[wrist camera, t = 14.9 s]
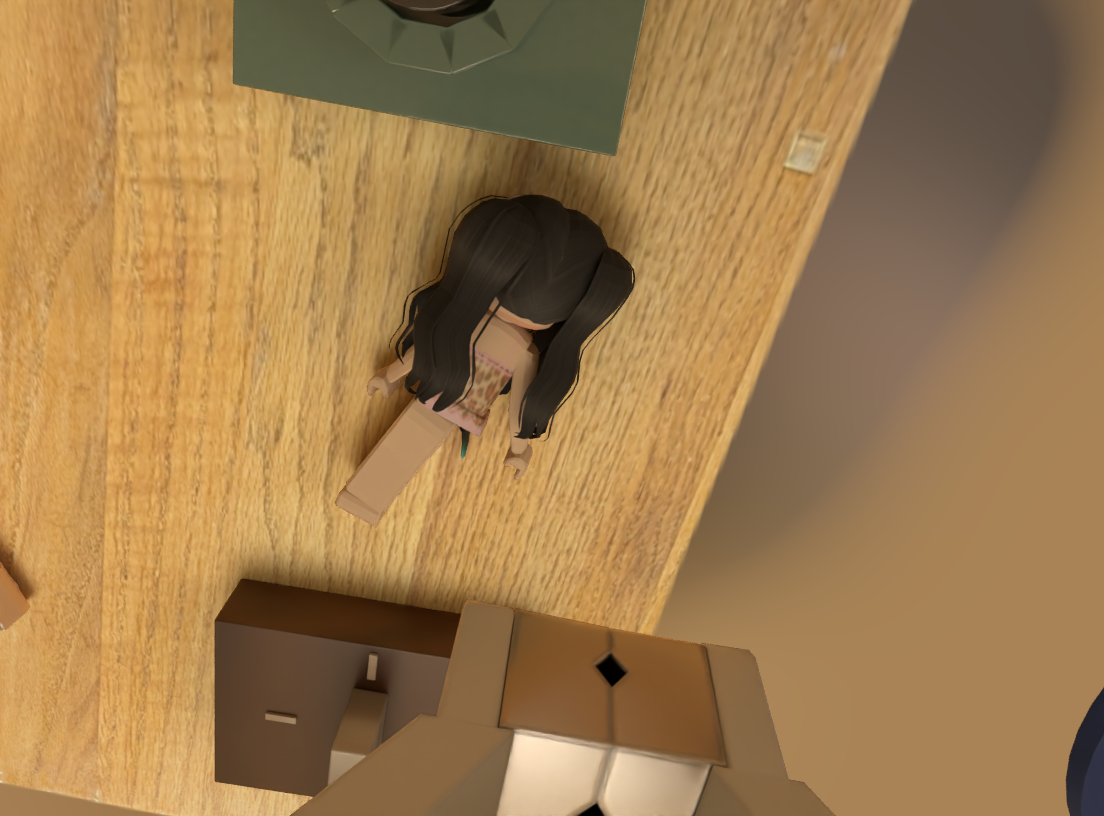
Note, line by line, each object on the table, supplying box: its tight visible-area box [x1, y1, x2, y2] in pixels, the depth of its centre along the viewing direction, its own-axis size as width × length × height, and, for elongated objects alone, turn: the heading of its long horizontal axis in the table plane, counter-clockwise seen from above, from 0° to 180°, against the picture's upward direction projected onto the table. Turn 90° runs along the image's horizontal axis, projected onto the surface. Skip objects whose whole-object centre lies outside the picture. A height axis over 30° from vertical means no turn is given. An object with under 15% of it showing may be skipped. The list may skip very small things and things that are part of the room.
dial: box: [328, 688, 388, 786], centre depth 35 cm, size 5×2×4 cm, turn 169°
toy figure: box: [335, 195, 635, 526], centre depth 30 cm, size 7×6×15 cm
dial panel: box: [215, 579, 461, 797], centre depth 38 cm, size 14×10×3 cm
